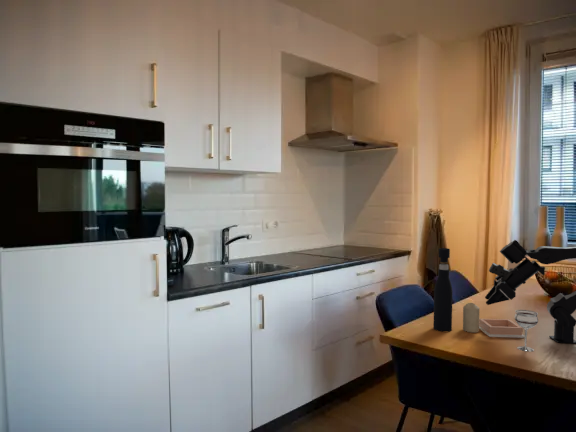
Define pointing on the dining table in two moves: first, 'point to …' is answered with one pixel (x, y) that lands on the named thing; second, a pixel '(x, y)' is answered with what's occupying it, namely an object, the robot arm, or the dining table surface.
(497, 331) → the pink square tray
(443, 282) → the wine bottle
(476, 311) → the candle
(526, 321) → the wineglass
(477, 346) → the dining table surface
